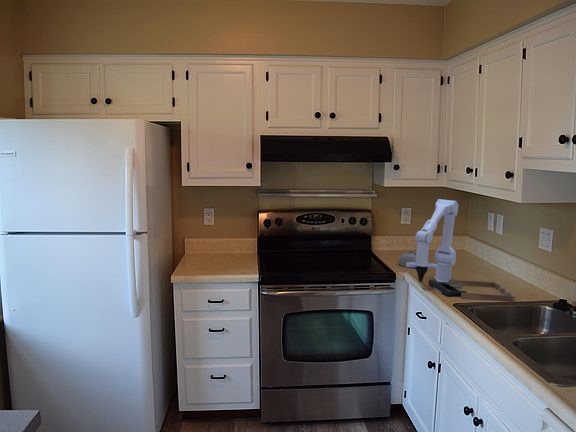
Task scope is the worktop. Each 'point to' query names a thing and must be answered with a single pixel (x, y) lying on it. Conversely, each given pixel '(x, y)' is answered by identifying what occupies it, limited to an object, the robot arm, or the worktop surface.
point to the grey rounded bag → (407, 258)
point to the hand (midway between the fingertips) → (420, 281)
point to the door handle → (446, 288)
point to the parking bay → (505, 297)
